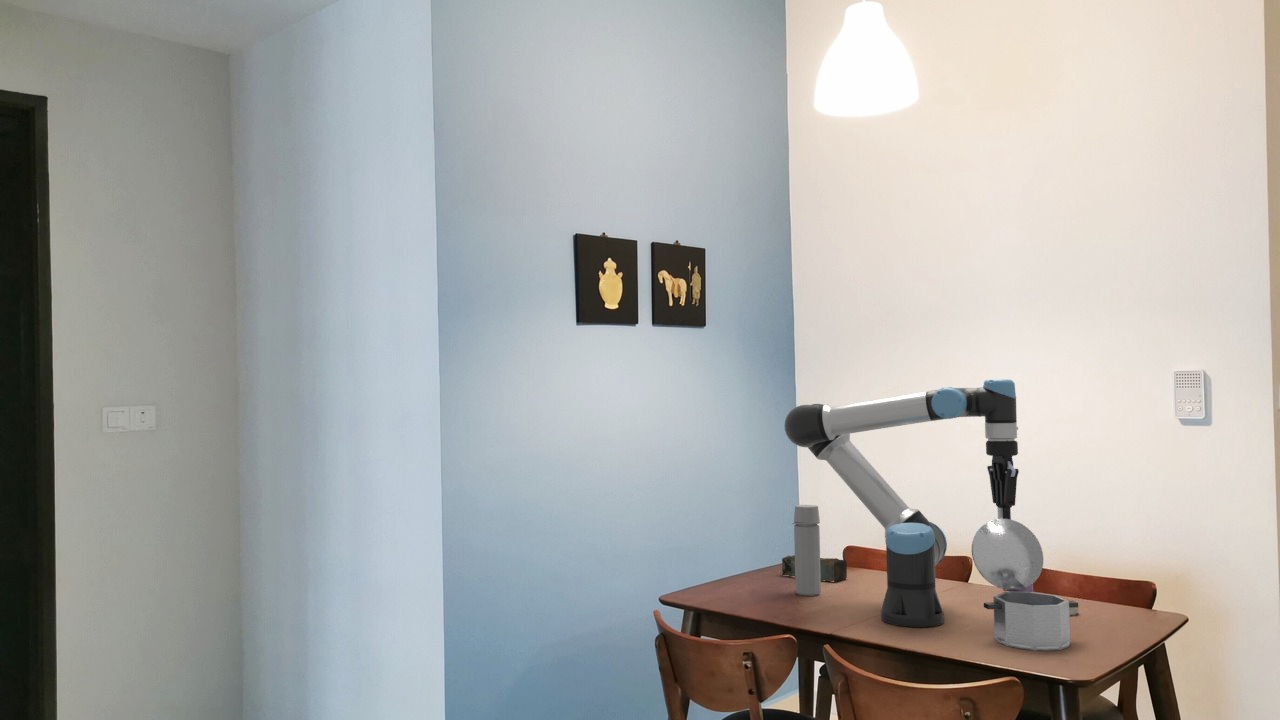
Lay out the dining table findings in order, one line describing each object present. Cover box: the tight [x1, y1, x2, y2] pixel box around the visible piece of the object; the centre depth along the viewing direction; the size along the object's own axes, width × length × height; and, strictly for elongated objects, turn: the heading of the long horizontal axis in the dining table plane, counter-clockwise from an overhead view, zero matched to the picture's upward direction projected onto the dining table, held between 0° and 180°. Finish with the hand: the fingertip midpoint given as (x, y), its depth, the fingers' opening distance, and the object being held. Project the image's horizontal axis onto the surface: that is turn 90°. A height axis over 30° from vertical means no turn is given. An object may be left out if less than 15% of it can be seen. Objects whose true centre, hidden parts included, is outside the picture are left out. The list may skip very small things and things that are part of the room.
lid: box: [971, 518, 1044, 592], centre depth 219 cm, size 17×17×3 cm
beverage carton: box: [781, 554, 848, 583], centre depth 283 cm, size 8×19×7 cm, turn 50°
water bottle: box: [791, 504, 822, 597], centre depth 261 cm, size 9×8×25 cm
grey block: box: [1062, 597, 1079, 617], centre depth 234 cm, size 8×9×4 cm
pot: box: [983, 591, 1079, 652], centre depth 207 cm, size 21×16×10 cm
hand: (1004, 533), depth 230 cm, fingers closed
